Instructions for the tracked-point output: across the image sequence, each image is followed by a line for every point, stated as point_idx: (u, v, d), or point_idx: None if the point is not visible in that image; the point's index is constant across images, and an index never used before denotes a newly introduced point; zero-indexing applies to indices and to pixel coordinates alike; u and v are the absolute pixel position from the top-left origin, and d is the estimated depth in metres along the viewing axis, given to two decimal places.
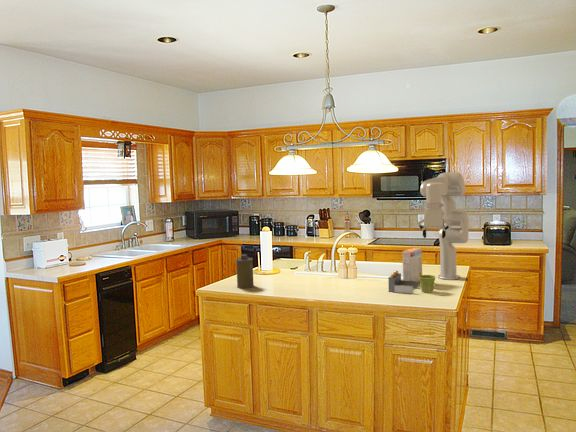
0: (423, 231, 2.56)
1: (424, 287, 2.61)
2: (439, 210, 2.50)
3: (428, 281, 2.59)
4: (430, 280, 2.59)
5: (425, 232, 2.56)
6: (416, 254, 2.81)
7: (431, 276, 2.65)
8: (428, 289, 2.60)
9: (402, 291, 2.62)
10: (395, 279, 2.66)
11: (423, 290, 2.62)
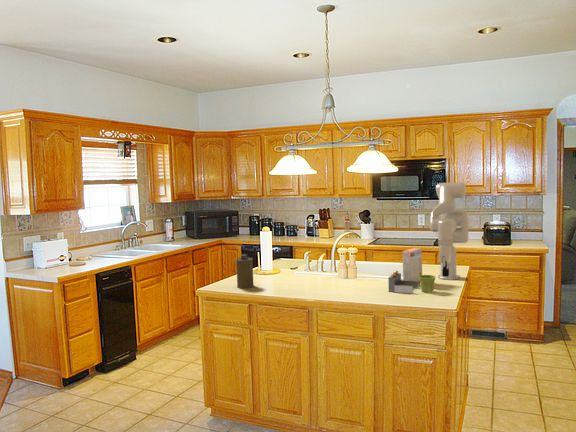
0: (446, 270, 2.56)
1: (424, 287, 2.61)
2: None
3: (428, 280, 2.59)
4: (430, 280, 2.59)
5: None
6: (416, 254, 2.81)
7: (431, 276, 2.65)
8: (428, 289, 2.60)
9: (402, 291, 2.62)
10: (395, 279, 2.66)
11: (423, 290, 2.62)
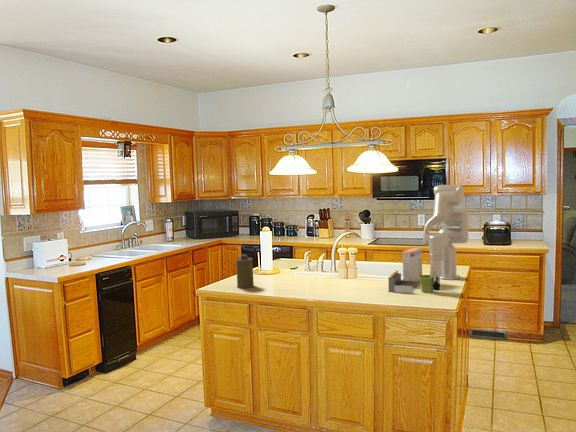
0: (437, 284, 2.59)
1: (424, 287, 2.61)
2: None
3: (427, 280, 2.59)
4: (430, 280, 2.59)
5: None
6: (416, 254, 2.81)
7: None
8: (427, 288, 2.60)
9: (402, 291, 2.62)
10: (395, 279, 2.66)
11: (423, 290, 2.62)
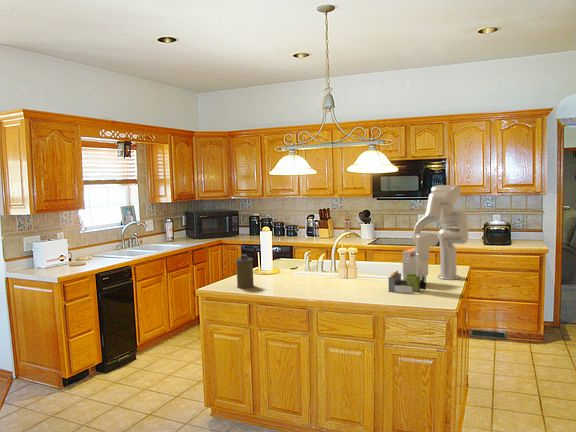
0: (424, 283, 2.63)
1: None
2: None
3: (413, 279, 2.63)
4: (416, 279, 2.62)
5: None
6: None
7: None
8: (414, 287, 2.64)
9: (402, 291, 2.62)
10: (395, 279, 2.66)
11: None
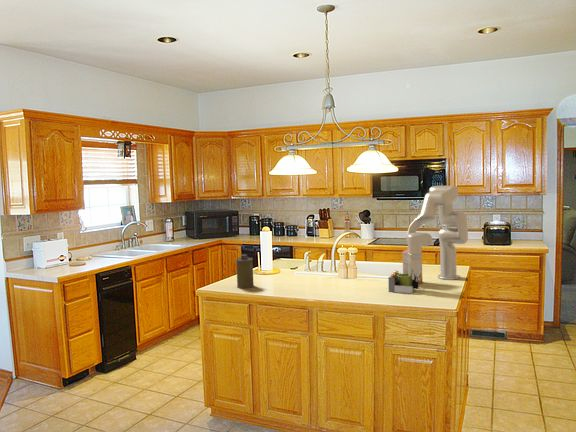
0: (416, 282, 2.65)
1: None
2: None
3: (406, 279, 2.65)
4: (408, 278, 2.64)
5: None
6: None
7: None
8: None
9: (402, 291, 2.62)
10: (395, 279, 2.66)
11: None
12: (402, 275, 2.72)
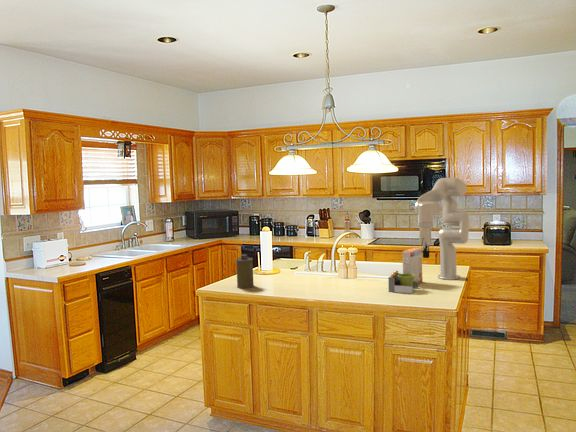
0: (427, 251, 2.61)
1: None
2: None
3: (406, 279, 2.65)
4: (408, 278, 2.64)
5: None
6: (416, 254, 2.81)
7: (411, 275, 2.71)
8: None
9: (402, 291, 2.62)
10: (395, 279, 2.66)
11: None
12: (402, 275, 2.72)
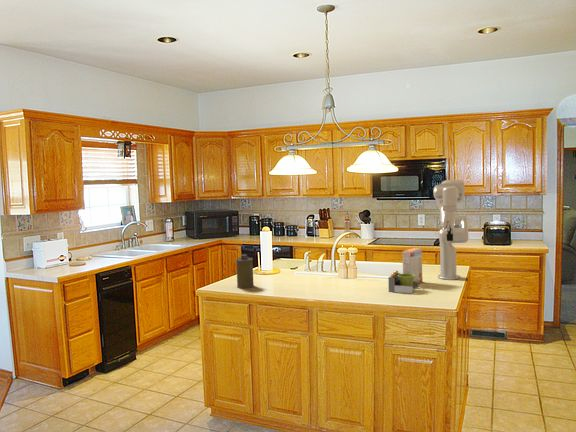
0: (451, 235, 2.68)
1: None
2: None
3: (406, 279, 2.65)
4: (408, 278, 2.64)
5: None
6: (416, 254, 2.81)
7: (411, 275, 2.71)
8: None
9: (402, 291, 2.62)
10: (395, 279, 2.66)
11: None
12: (402, 275, 2.72)
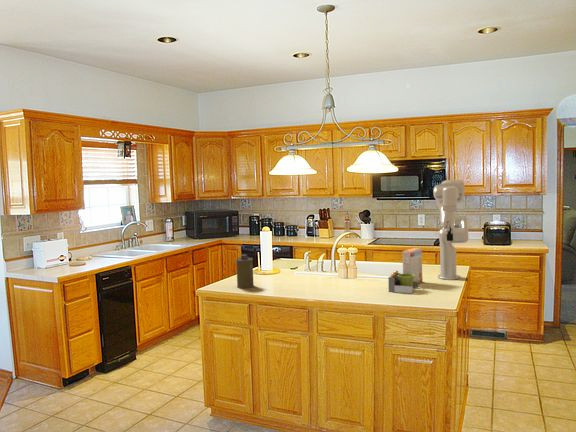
0: (451, 235, 2.68)
1: None
2: None
3: (406, 279, 2.65)
4: (408, 278, 2.64)
5: None
6: (416, 254, 2.81)
7: (411, 275, 2.71)
8: None
9: (402, 291, 2.62)
10: (395, 279, 2.66)
11: None
12: (402, 275, 2.72)
